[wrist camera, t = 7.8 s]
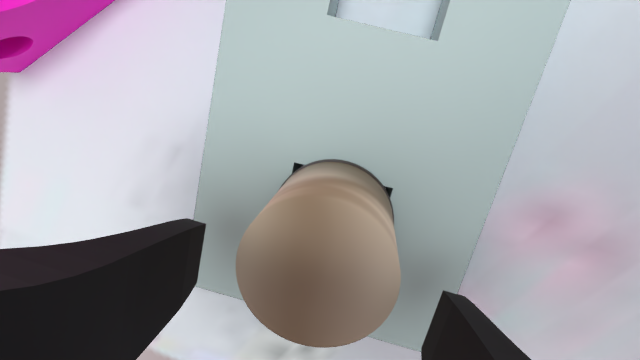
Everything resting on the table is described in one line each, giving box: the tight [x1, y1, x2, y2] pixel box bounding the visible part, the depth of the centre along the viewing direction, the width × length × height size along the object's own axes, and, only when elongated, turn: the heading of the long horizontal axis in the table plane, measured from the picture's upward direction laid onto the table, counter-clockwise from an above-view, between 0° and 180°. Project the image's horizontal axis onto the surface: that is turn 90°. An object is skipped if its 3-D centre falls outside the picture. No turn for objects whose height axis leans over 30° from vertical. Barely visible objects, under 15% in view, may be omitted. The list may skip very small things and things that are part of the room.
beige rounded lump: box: [236, 159, 401, 347], centre depth 15 cm, size 5×5×7 cm
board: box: [193, 0, 571, 352], centre depth 16 cm, size 12×20×2 cm, turn 166°
